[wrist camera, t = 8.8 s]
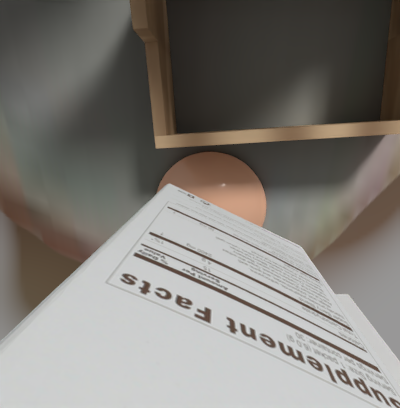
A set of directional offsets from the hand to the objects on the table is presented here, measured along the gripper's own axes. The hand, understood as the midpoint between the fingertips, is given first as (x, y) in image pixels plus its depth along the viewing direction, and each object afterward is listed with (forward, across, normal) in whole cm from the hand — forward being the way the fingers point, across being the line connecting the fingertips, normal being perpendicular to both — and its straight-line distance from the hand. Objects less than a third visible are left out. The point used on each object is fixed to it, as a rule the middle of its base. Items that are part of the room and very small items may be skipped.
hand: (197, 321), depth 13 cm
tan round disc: (+19, 0, 0) cm, 19 cm away
